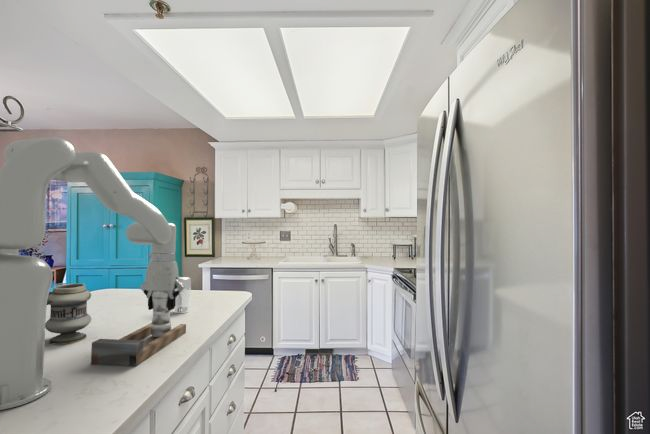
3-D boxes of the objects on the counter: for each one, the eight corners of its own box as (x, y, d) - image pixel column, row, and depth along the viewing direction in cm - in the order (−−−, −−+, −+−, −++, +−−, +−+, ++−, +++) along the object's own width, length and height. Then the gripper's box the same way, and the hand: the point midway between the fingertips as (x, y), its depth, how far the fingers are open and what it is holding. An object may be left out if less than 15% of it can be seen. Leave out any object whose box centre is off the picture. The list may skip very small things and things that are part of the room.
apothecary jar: (33, 344, 102) (36, 287, 102) (68, 332, 113) (71, 281, 114) (67, 347, 100) (69, 289, 100) (99, 334, 112) (101, 283, 112)
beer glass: (173, 310, 144) (174, 277, 145) (189, 309, 147) (190, 276, 148) (173, 314, 138) (174, 279, 138) (190, 313, 141) (191, 279, 141)
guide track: (135, 366, 88) (136, 344, 88) (90, 364, 88) (91, 342, 89) (185, 332, 116) (186, 315, 116) (151, 331, 116) (151, 314, 117)
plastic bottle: (162, 340, 107) (165, 281, 108) (145, 338, 109) (147, 279, 109) (175, 334, 114) (177, 278, 114) (158, 332, 115) (161, 277, 115)
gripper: (132, 258, 109) (130, 311, 108) (182, 259, 108) (180, 313, 107) (146, 256, 116) (144, 305, 116) (192, 257, 115) (190, 307, 115)
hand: (161, 308), depth 111 cm, fingers closed on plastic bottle, 6 cm apart
